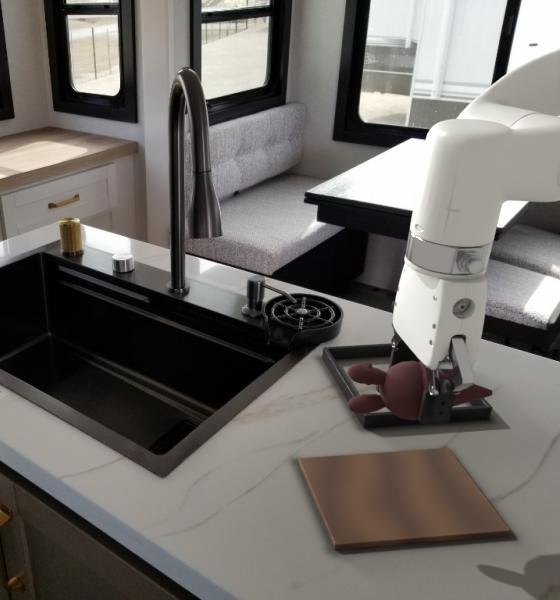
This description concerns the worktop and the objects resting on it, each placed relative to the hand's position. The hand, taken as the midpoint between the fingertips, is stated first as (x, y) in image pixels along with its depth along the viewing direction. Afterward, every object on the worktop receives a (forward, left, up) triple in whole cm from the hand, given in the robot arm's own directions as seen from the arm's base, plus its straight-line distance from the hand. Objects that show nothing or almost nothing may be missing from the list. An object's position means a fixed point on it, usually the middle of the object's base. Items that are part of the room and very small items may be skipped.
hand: (416, 398), depth 70 cm
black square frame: (-10, -22, -14) cm, 28 cm away
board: (0, 0, -14) cm, 14 cm away
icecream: (0, 0, -2) cm, 3 cm away
